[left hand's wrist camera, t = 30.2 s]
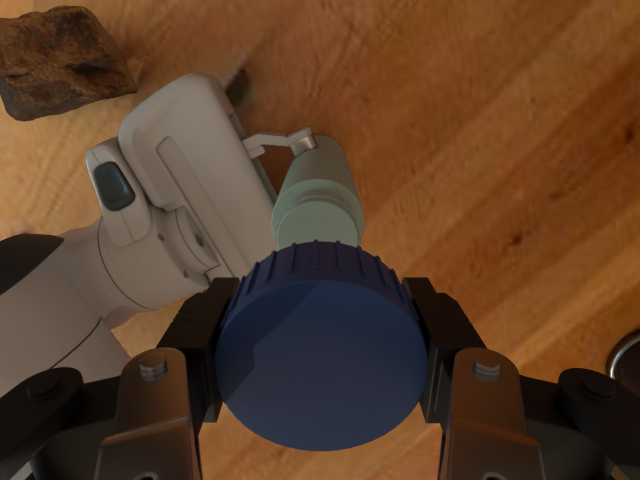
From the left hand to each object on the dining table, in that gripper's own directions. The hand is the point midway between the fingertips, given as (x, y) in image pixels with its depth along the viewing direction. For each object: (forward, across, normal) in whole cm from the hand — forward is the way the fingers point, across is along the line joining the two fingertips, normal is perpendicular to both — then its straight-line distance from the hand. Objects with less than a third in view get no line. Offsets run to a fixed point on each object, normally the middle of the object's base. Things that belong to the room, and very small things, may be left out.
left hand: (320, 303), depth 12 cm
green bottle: (+24, 0, 0) cm, 24 cm away
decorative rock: (+24, +20, -8) cm, 32 cm away
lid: (-3, 0, 0) cm, 3 cm away
